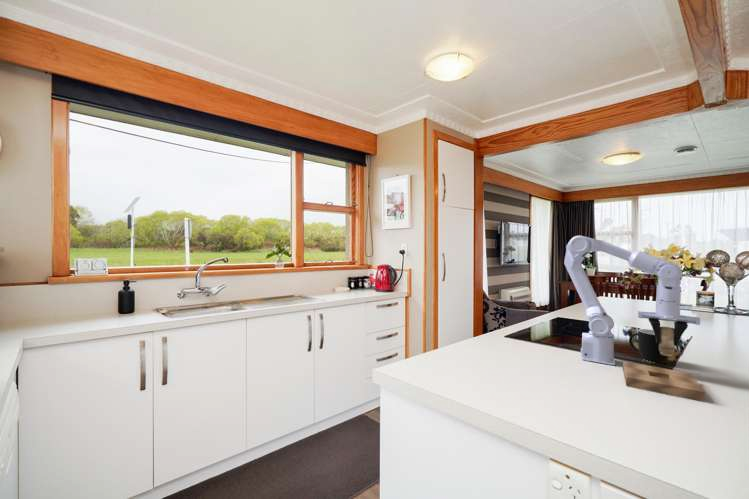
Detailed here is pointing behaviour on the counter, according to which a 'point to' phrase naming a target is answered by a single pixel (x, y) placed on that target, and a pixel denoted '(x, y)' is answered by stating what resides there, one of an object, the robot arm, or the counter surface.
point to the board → (663, 381)
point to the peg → (667, 341)
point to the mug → (648, 346)
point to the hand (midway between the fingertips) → (666, 343)
